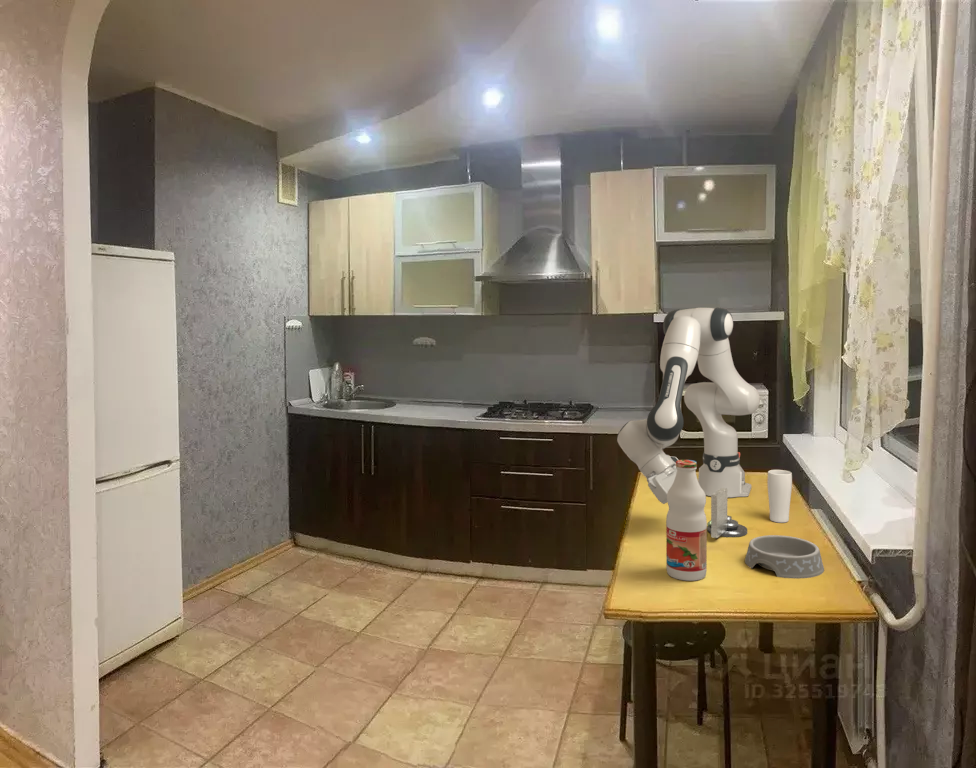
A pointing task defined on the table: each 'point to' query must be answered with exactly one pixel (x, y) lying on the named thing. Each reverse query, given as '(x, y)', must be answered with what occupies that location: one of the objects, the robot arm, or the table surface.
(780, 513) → the drinking glass
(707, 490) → the robot arm
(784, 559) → the dog bowl
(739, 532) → the base
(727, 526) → the upright slab
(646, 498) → the table surface
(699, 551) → the white plastic bottle
